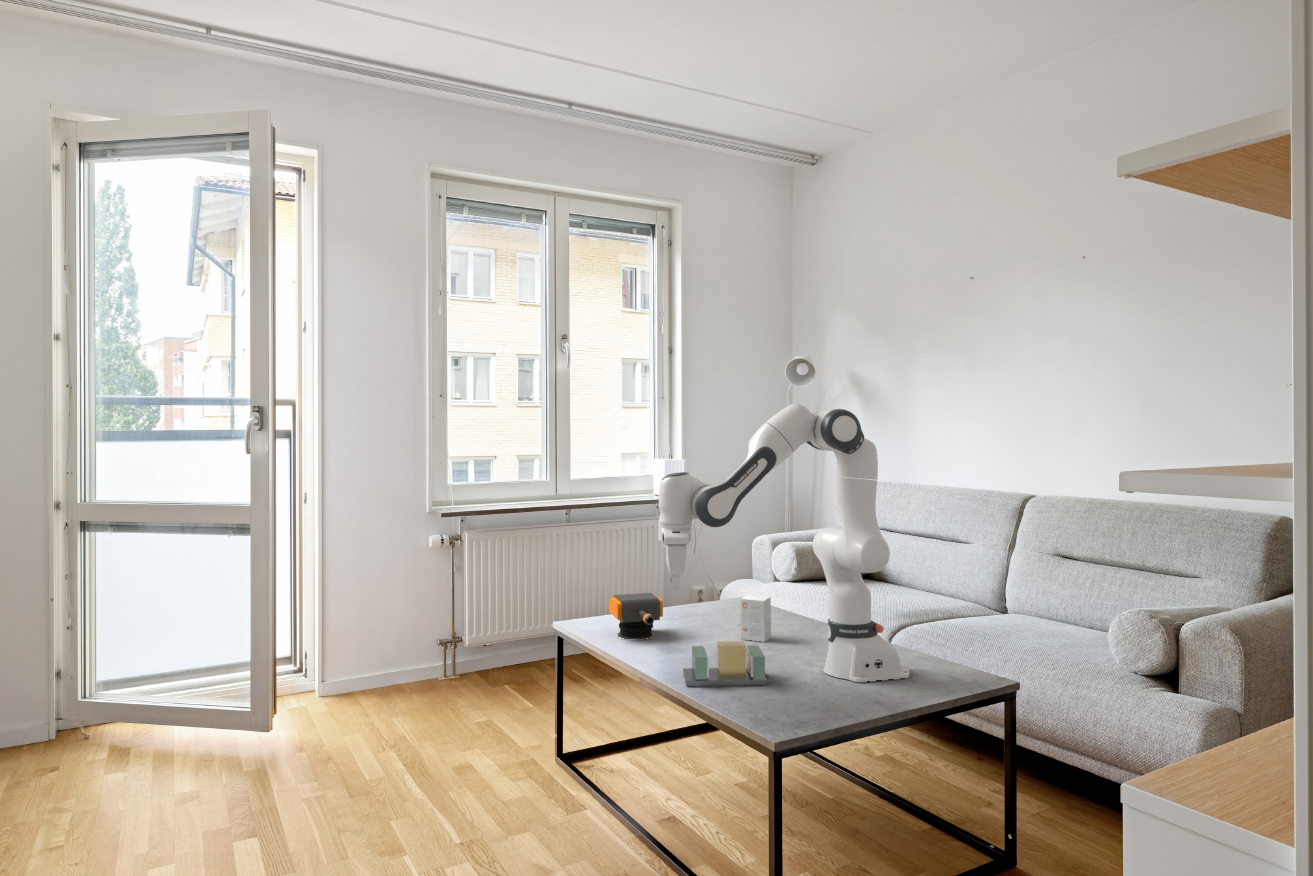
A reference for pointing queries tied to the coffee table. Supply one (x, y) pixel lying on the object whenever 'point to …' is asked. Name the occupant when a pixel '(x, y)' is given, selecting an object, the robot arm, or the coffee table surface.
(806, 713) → the coffee table surface
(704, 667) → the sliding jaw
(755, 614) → the small box
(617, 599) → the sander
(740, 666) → the brass block
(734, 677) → the vise
